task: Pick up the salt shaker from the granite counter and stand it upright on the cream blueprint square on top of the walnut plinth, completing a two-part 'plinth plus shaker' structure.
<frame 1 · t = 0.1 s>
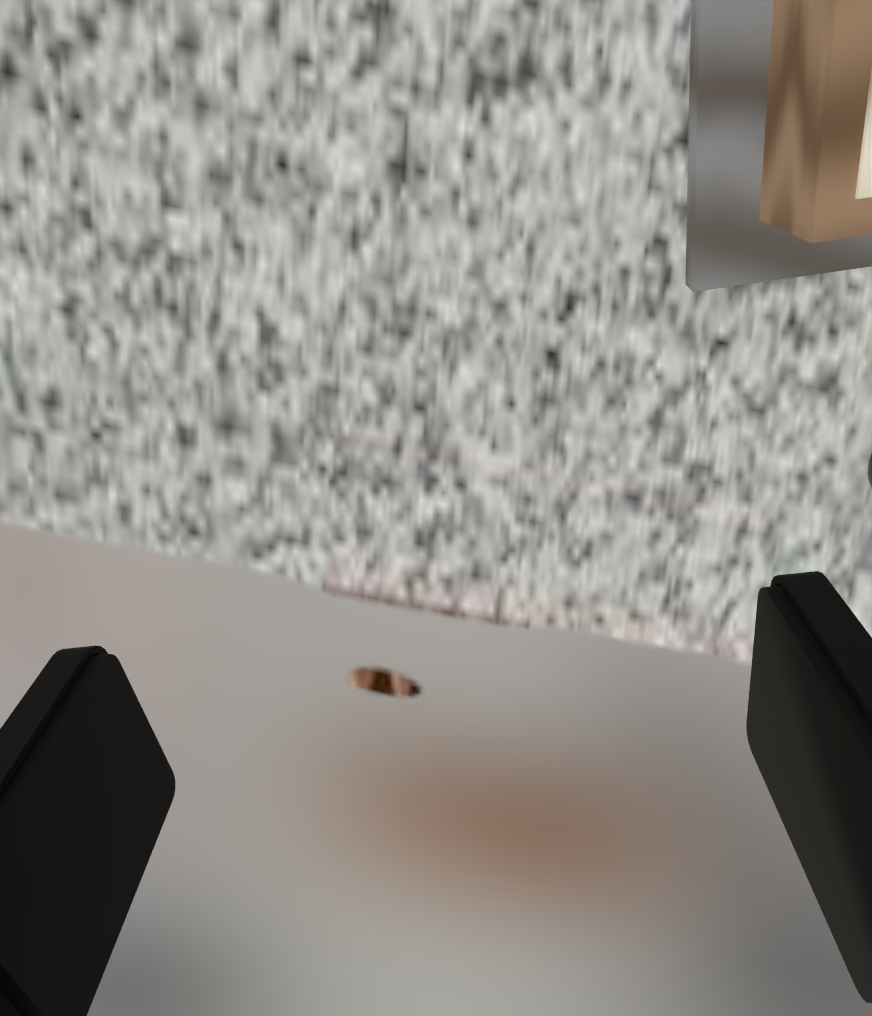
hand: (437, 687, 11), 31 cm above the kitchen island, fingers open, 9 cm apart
plinth: (867, 82, 33), on the kitchen island
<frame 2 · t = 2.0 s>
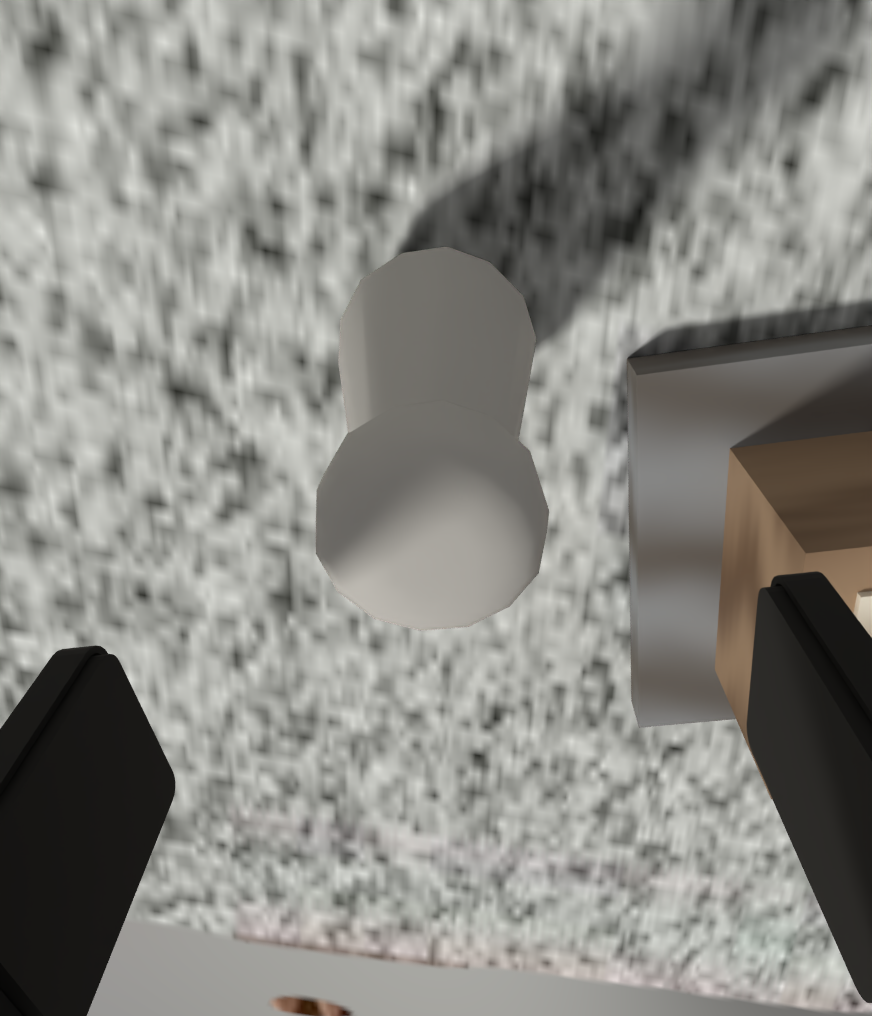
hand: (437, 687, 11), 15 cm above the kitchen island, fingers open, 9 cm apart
plinth: (844, 531, 27), on the kitchen island
salt shaker: (438, 323, 24), on the kitchen island
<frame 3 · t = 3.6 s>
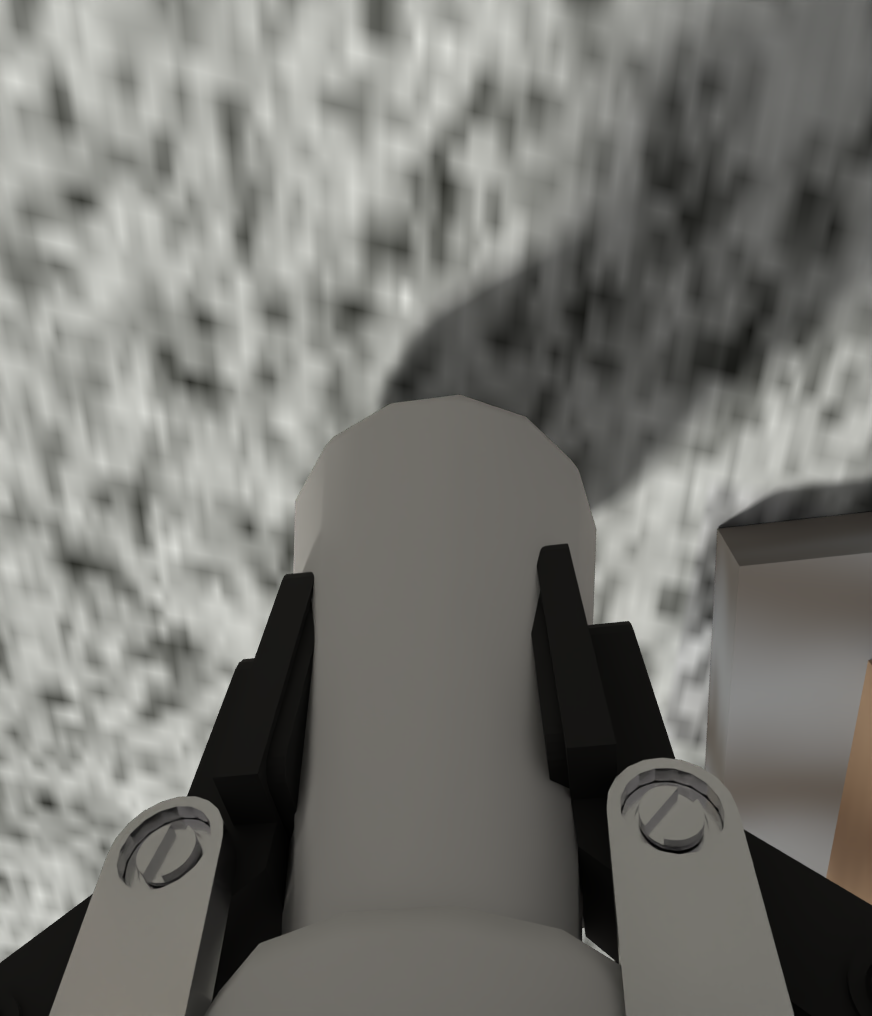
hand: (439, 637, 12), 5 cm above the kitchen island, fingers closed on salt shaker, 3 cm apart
salt shaker: (445, 479, 16), on the kitchen island, touching gripper
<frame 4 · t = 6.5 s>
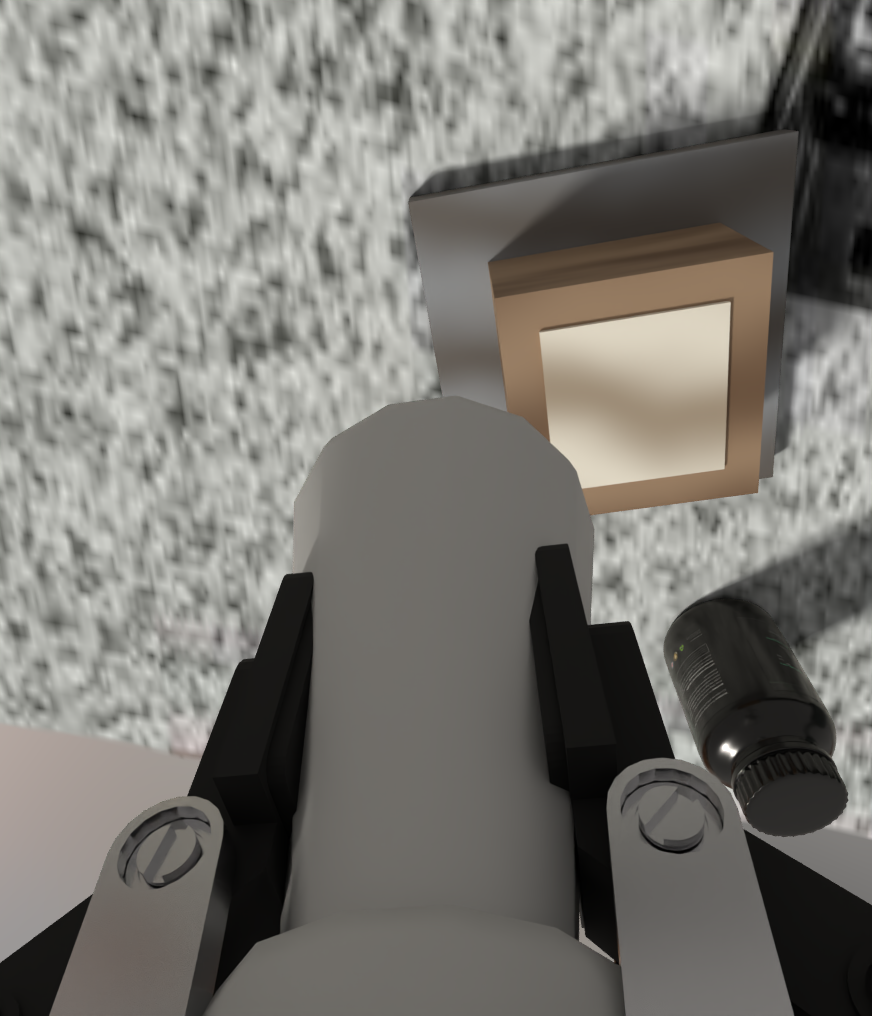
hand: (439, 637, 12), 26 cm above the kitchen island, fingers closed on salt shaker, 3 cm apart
supplement bottle: (716, 636, 45), on the kitchen island
plinth: (601, 342, 35), on the kitchen island
salt shaker: (444, 479, 16), point 20 cm above the kitchen island, touching gripper
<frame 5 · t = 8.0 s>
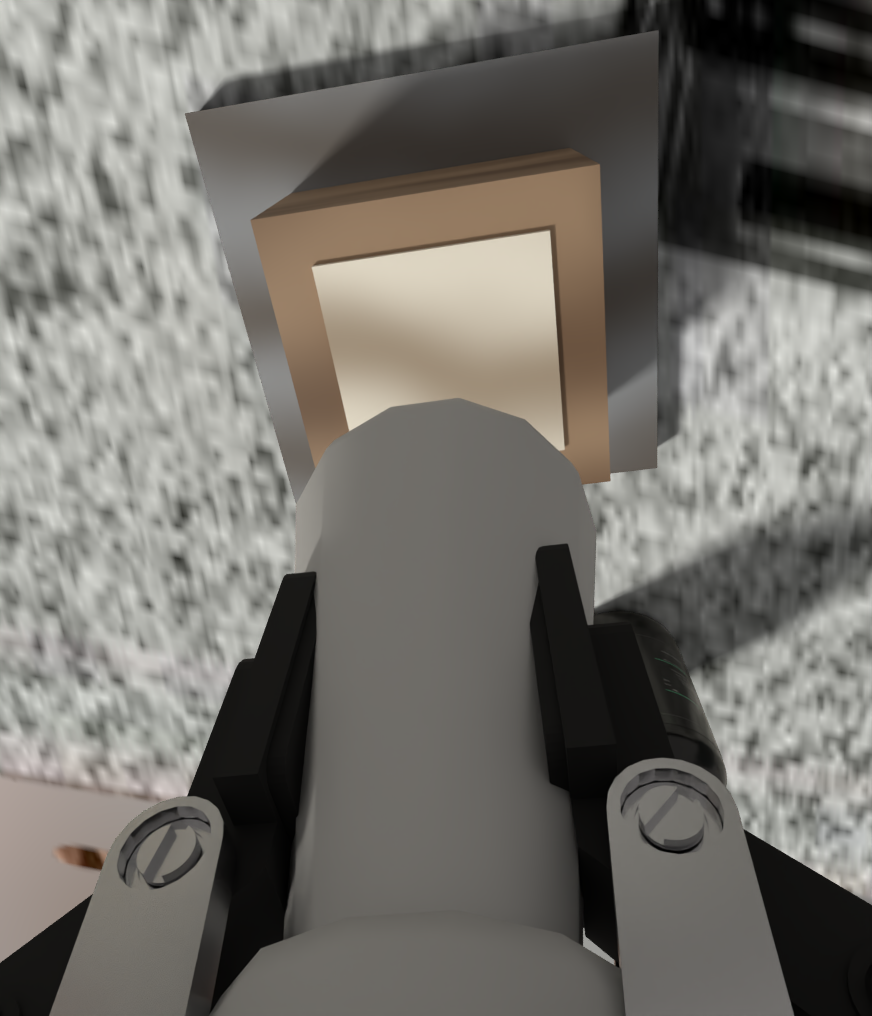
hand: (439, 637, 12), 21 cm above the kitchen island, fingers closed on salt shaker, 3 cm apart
supplement bottle: (611, 654, 39), on the kitchen island
plinth: (448, 300, 29), on the kitchen island
salt shaker: (445, 481, 16), point 15 cm above the kitchen island, touching gripper
when the fingers open (14 cm above the kitchen island, at t = 9.4 s): salt shaker stays where it is, resting on plinth.
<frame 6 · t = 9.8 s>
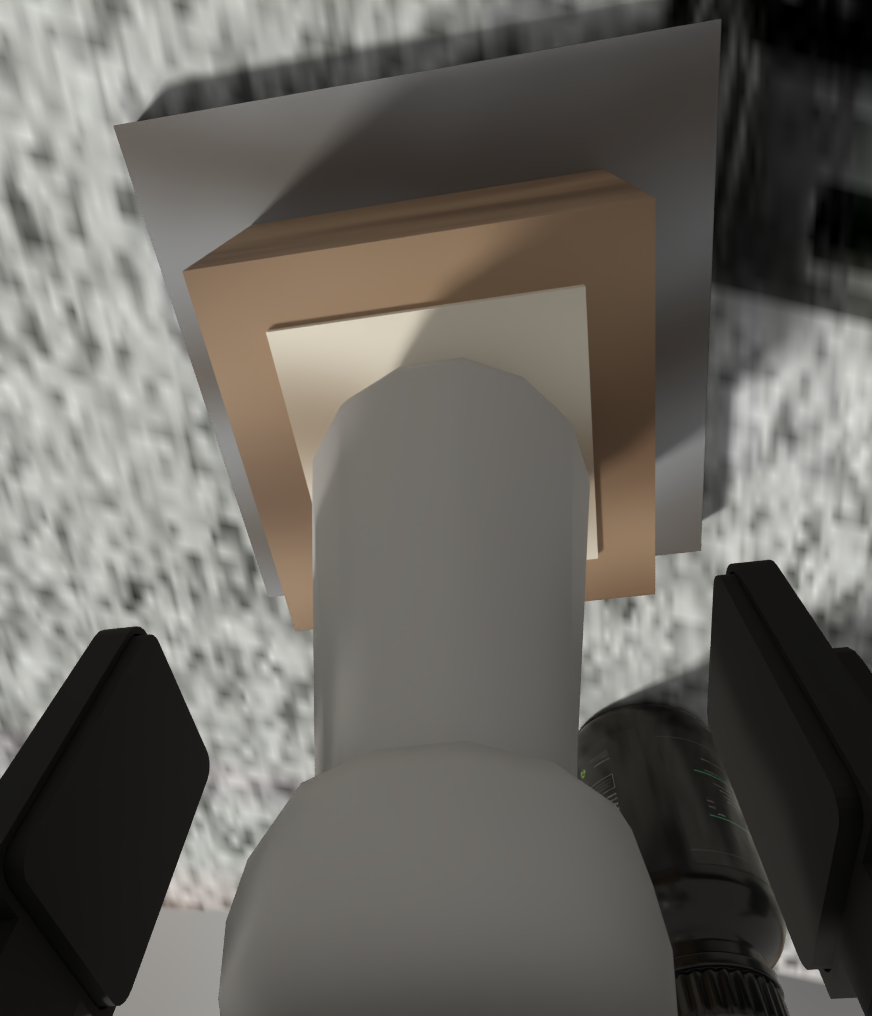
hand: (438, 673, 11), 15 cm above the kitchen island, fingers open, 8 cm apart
supplement bottle: (637, 749, 34), on the kitchen island
plinth: (448, 352, 24), on the kitchen island
salt shaker: (450, 444, 17), point 8 cm above the kitchen island, touching plinth
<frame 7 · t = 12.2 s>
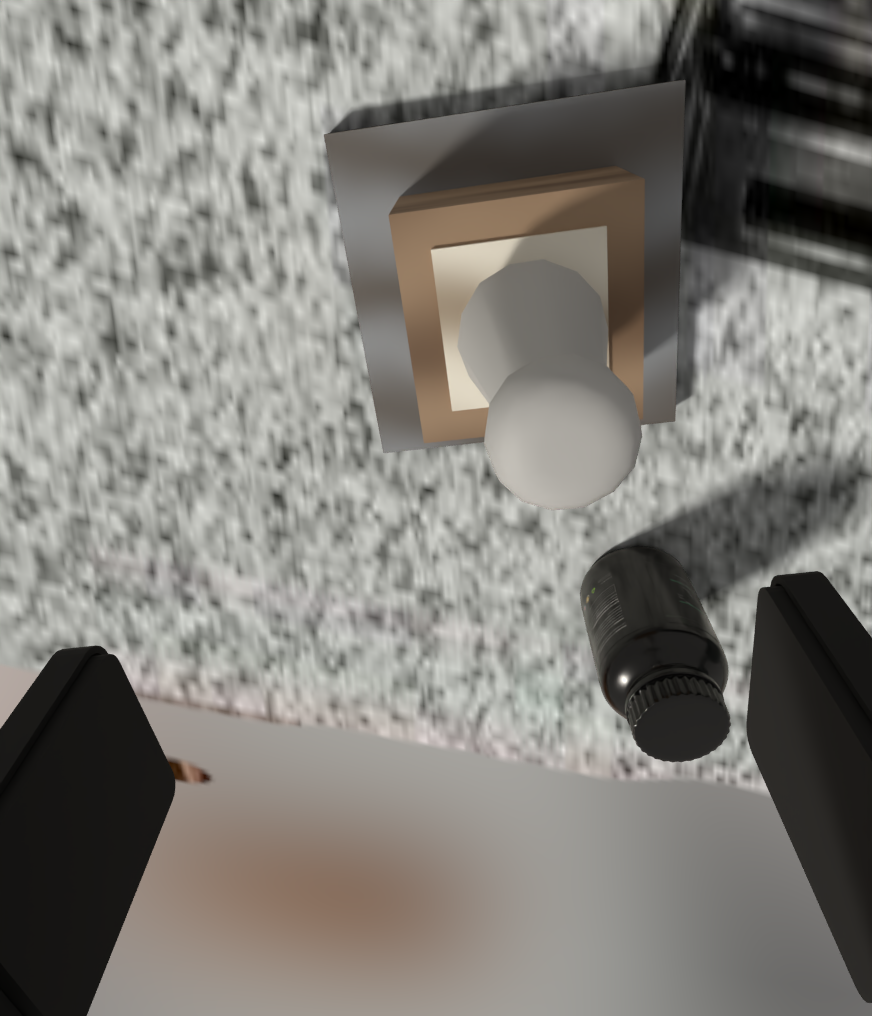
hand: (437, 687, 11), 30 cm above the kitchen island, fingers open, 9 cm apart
supplement bottle: (631, 585, 47), on the kitchen island
plinth: (513, 283, 37), on the kitchen island
salt shaker: (527, 319, 31), point 8 cm above the kitchen island, touching plinth
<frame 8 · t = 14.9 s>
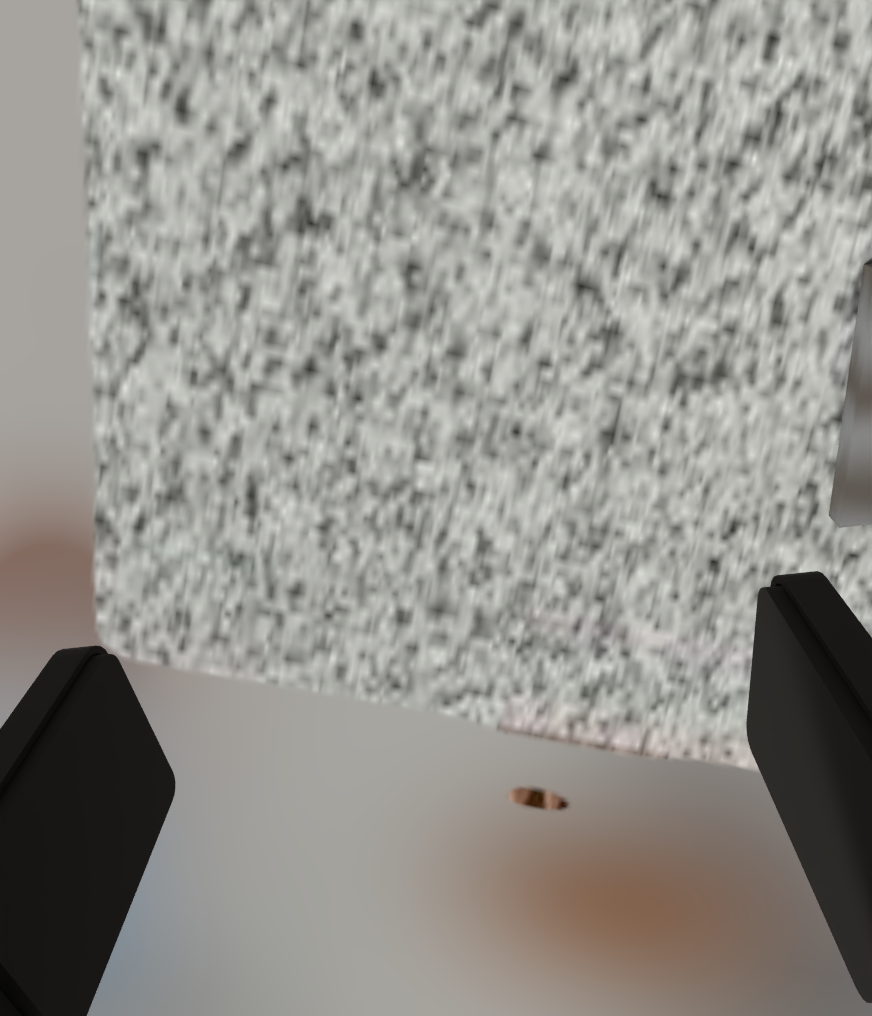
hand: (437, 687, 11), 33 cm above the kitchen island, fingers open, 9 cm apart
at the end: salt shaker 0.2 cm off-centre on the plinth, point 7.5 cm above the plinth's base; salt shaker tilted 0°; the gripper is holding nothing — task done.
